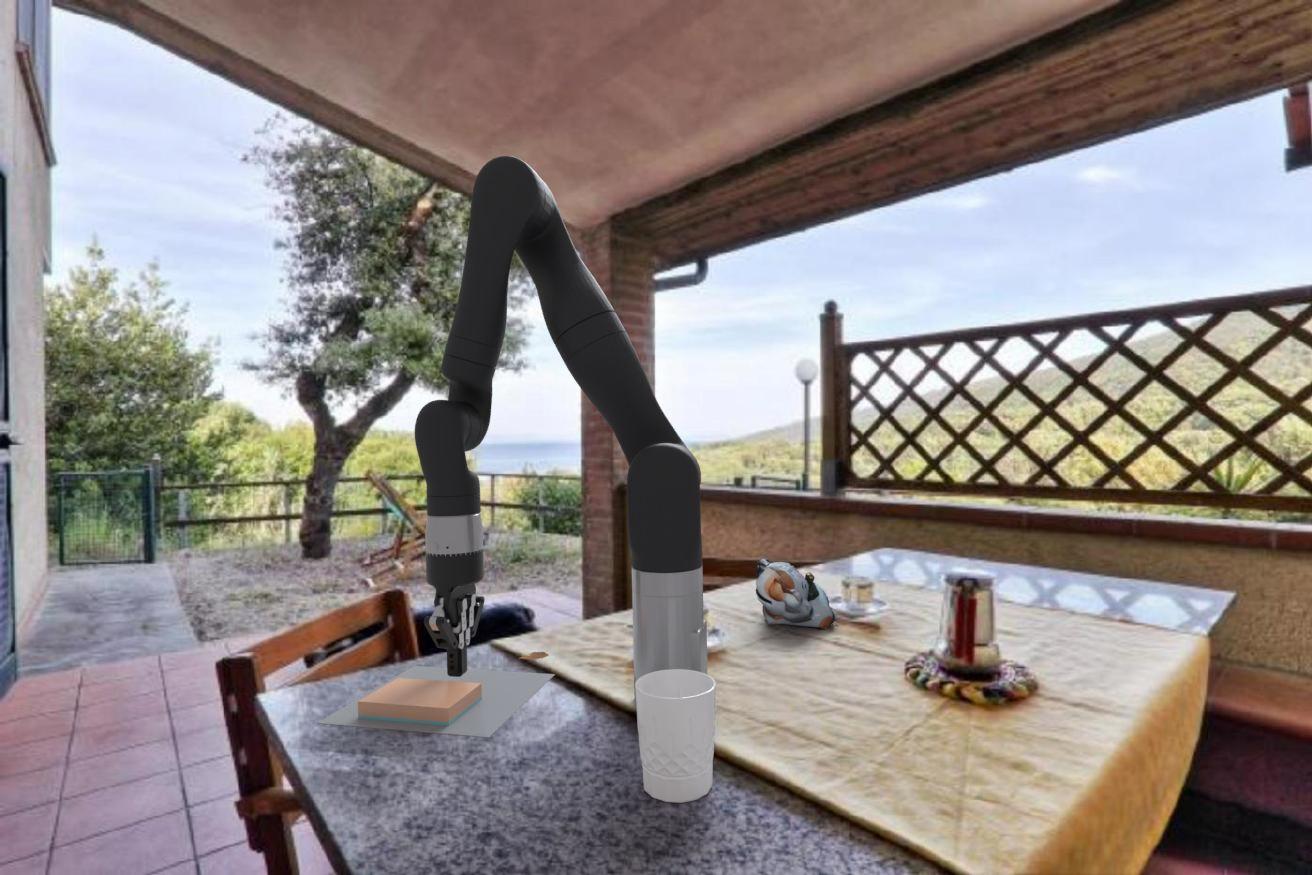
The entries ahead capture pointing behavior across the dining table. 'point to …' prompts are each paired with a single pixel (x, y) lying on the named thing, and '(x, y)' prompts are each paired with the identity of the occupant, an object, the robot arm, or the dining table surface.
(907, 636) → the dining table surface
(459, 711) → the tile
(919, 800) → the dining table surface
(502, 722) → the board
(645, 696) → the white cup
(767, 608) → the lucky cat figurine
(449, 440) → the robot arm
